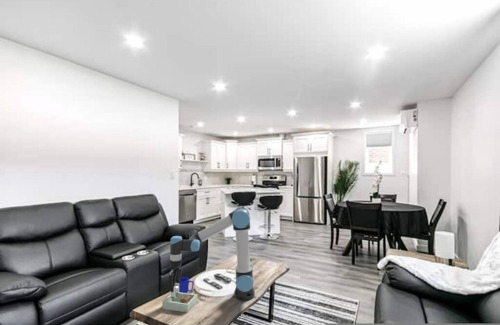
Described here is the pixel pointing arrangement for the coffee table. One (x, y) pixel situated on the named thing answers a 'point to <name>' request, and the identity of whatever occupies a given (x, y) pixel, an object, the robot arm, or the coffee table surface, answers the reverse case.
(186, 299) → the walnut block
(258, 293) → the coffee table surface
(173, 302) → the tote
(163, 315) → the coffee table surface
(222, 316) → the coffee table surface
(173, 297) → the canister
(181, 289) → the mug
